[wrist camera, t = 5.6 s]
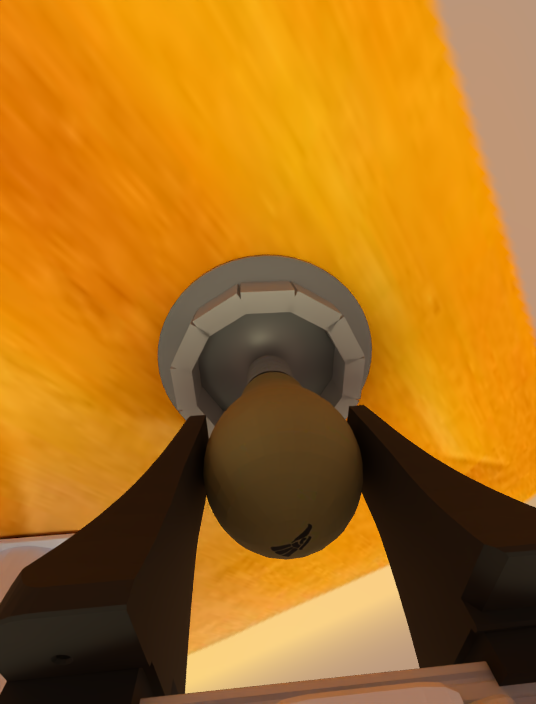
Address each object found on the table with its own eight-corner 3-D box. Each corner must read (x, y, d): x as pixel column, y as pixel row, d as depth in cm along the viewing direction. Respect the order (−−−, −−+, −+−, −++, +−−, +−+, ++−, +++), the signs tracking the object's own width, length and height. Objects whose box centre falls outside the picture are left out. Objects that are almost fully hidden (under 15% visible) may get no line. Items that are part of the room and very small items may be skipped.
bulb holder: (357, 436, 21) (371, 464, 19) (177, 449, 20) (168, 479, 18) (381, 250, 16) (404, 258, 13) (140, 259, 15) (122, 268, 13)
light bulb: (297, 418, 19) (343, 607, 10) (209, 398, 18) (173, 589, 9) (332, 338, 17) (430, 491, 8) (234, 310, 16) (219, 449, 7)
